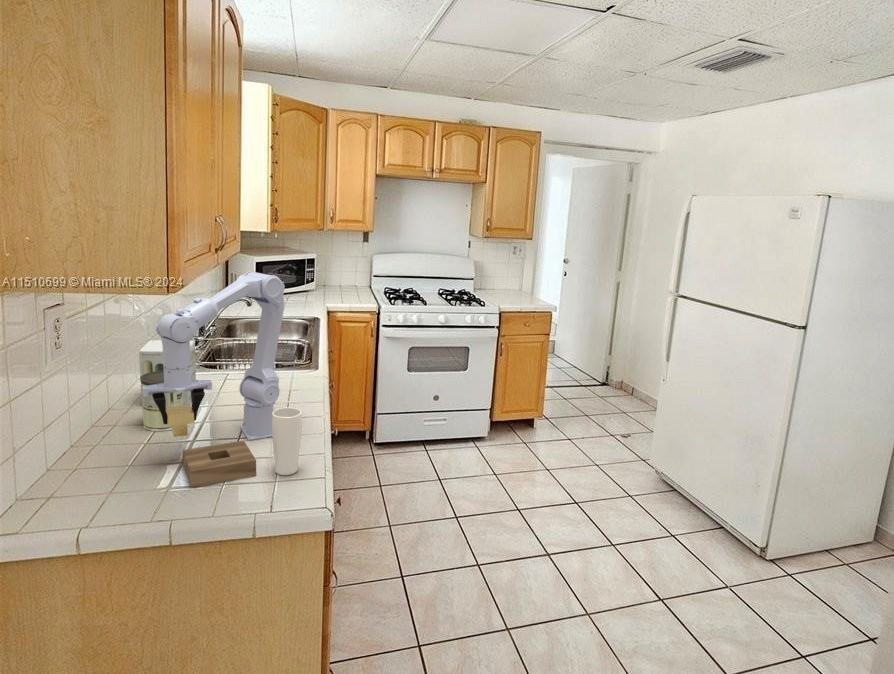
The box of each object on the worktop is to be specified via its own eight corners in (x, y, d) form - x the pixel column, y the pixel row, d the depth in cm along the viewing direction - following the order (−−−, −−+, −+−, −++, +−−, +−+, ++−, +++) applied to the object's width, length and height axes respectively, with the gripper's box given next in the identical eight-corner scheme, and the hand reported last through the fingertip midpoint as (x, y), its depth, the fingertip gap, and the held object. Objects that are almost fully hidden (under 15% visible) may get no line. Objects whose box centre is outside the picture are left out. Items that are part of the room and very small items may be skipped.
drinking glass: (271, 478, 131) (271, 418, 128) (271, 465, 138) (271, 407, 134) (301, 476, 133) (302, 417, 130) (300, 463, 139) (301, 406, 136)
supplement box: (140, 407, 167) (137, 350, 163) (152, 392, 180) (149, 339, 176) (189, 406, 170) (187, 350, 166) (197, 392, 183) (195, 340, 179)
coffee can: (145, 418, 159) (142, 371, 156) (185, 416, 163) (183, 369, 160) (140, 433, 150) (137, 382, 147) (183, 430, 154) (181, 380, 151)
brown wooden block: (183, 465, 134) (182, 450, 133) (243, 455, 142) (243, 440, 141) (191, 488, 125) (190, 471, 124) (256, 475, 132) (256, 459, 131)
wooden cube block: (165, 431, 136) (164, 407, 134) (190, 427, 139) (190, 404, 137) (168, 439, 131) (167, 415, 130) (194, 436, 134) (193, 412, 133)
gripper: (143, 374, 124) (146, 431, 127) (213, 367, 132) (215, 422, 135) (140, 365, 130) (144, 420, 133) (208, 359, 137) (209, 412, 140)
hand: (179, 420), depth 134 cm, fingers closed on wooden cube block, 6 cm apart
